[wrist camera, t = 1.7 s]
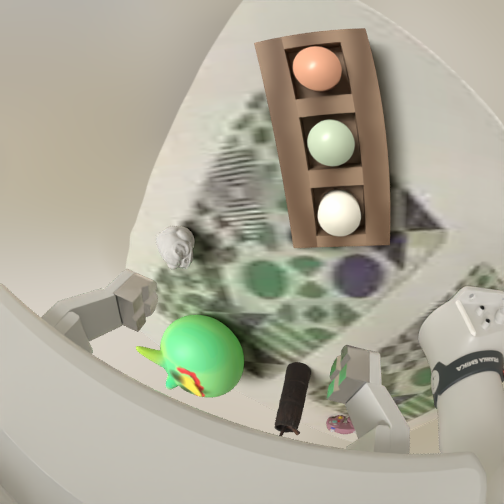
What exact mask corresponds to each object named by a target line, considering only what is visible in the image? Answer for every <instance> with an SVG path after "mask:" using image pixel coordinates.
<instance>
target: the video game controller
mask: <svg viewBox="0 0 504 504" xmlns="http://www.w3.org/2000/svg"><path fill="white" fill-rule="evenodd" d="M343 421H344V416H341V415H338V416H337V417H335V418H328V420H327V422H326V424H327V428H328V429H329V430H330V431H331V432H337V433H340V434H349V433H356V431H355V429H354V426H353V424H352V421H351V419H350V417H348V419H347V422H348V423H343Z"/></svg>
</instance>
